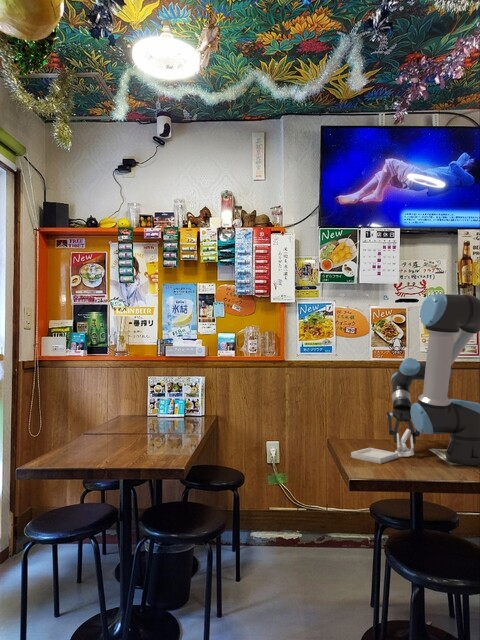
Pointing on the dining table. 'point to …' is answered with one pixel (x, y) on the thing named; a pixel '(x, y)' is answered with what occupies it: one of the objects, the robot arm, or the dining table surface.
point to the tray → (374, 455)
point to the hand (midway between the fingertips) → (405, 449)
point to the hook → (404, 446)
